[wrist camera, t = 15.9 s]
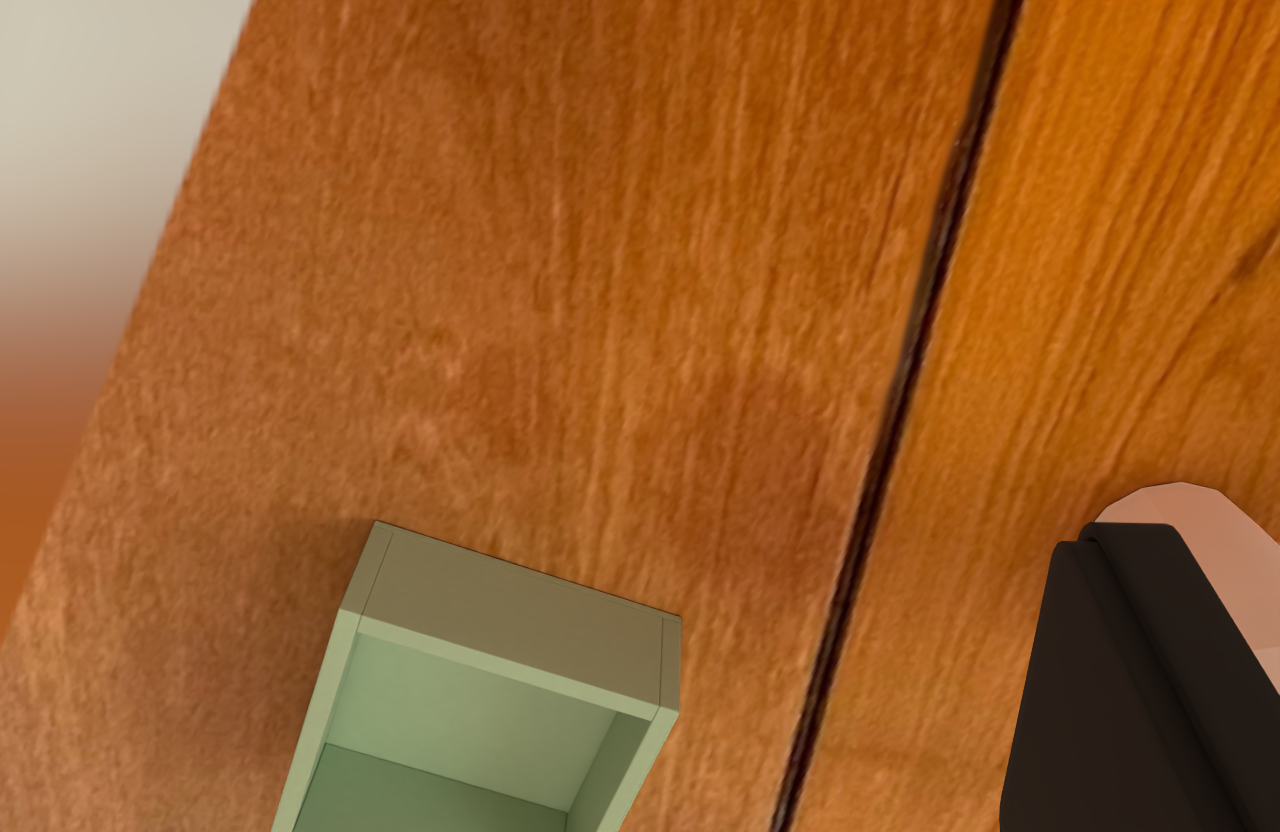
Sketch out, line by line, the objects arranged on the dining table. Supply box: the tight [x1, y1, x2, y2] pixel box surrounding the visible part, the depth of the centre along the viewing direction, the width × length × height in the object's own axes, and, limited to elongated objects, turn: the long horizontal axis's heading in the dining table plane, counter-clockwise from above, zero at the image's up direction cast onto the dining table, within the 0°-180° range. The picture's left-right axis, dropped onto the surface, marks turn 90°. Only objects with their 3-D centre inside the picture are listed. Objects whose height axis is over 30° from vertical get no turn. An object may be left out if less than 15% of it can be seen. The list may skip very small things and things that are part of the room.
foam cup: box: [1094, 482, 1280, 695], centre depth 39 cm, size 10×9×13 cm
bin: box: [270, 520, 681, 832], centre depth 47 cm, size 13×13×5 cm
